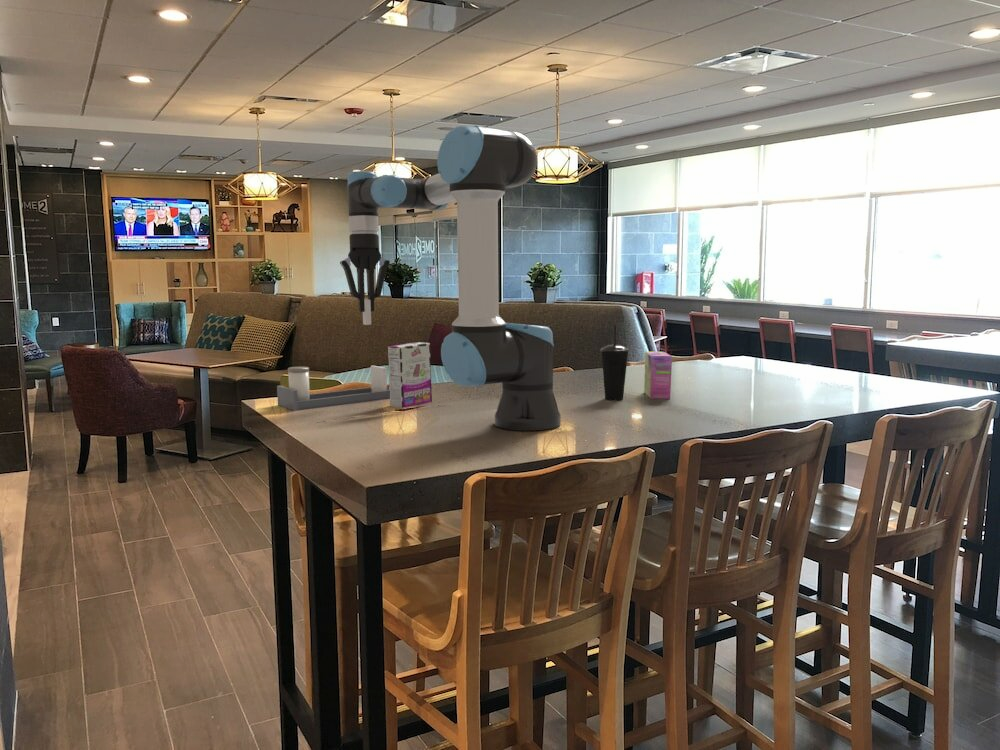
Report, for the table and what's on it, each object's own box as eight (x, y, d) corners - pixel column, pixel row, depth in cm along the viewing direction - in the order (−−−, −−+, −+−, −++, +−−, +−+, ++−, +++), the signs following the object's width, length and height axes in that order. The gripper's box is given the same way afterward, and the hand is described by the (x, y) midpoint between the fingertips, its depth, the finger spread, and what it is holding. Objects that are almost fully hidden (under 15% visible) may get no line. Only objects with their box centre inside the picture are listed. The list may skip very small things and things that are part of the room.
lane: (405, 400, 215) (405, 378, 214) (294, 414, 195) (293, 390, 195) (386, 395, 223) (386, 374, 222) (278, 409, 203) (277, 385, 202)
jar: (313, 406, 201) (312, 368, 200) (294, 408, 198) (292, 369, 196) (305, 403, 205) (303, 366, 204) (286, 405, 202) (284, 367, 201)
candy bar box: (418, 403, 210) (417, 341, 208) (432, 405, 207) (431, 342, 205) (388, 409, 202) (386, 345, 199) (402, 411, 199) (401, 346, 196)
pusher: (394, 396, 215) (394, 367, 214) (383, 397, 213) (382, 368, 211) (382, 393, 220) (381, 364, 219) (371, 394, 218) (370, 365, 217)
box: (671, 399, 215) (672, 355, 213) (650, 399, 215) (650, 355, 213) (664, 392, 225) (665, 351, 223) (643, 392, 225) (644, 351, 223)
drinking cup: (627, 396, 218) (628, 324, 215) (629, 401, 211) (630, 326, 208) (599, 396, 219) (600, 324, 216) (600, 401, 212) (601, 326, 209)
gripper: (384, 234, 211) (387, 322, 214) (335, 233, 206) (339, 324, 209) (392, 232, 204) (395, 324, 207) (342, 232, 199) (345, 326, 202)
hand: (367, 324), depth 208 cm, fingers closed
